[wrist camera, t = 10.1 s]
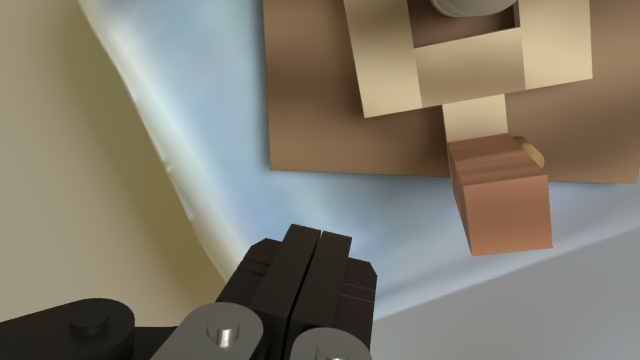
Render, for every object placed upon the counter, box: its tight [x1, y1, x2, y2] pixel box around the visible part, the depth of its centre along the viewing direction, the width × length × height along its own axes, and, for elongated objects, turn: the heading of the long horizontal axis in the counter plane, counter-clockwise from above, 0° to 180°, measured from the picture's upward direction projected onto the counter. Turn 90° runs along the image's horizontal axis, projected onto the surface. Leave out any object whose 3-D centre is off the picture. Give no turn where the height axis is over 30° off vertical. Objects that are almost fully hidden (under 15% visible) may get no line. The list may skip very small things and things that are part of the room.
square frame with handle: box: [344, 0, 592, 256], centre depth 20 cm, size 16×11×8 cm
